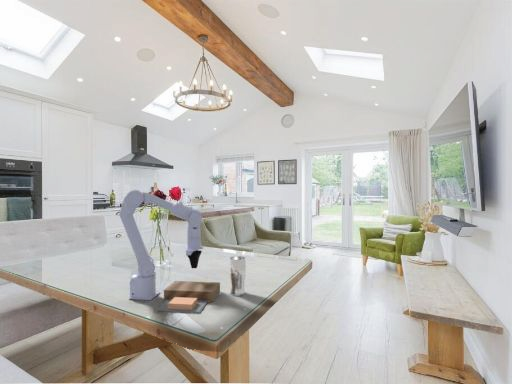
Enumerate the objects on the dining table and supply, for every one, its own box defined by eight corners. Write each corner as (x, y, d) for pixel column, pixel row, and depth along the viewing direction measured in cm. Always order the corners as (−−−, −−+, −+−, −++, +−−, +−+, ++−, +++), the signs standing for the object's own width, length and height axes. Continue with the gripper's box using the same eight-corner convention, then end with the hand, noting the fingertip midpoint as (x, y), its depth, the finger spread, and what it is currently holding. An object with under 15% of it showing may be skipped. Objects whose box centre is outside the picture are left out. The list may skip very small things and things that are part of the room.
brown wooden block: (163, 300, 110) (163, 290, 110) (175, 290, 121) (175, 280, 121) (212, 302, 108) (212, 291, 108) (219, 291, 119) (219, 282, 119)
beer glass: (246, 290, 120) (245, 255, 120) (246, 296, 113) (245, 259, 113) (230, 290, 120) (229, 256, 120) (229, 296, 113) (228, 260, 113)
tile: (174, 297, 107) (174, 302, 107) (167, 303, 101) (168, 308, 101) (197, 298, 106) (197, 303, 106) (191, 304, 100) (191, 310, 100)
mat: (156, 311, 100) (156, 309, 100) (168, 300, 110) (168, 299, 110) (199, 313, 98) (199, 311, 98) (207, 301, 108) (207, 300, 108)
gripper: (197, 240, 114) (197, 273, 114) (207, 234, 129) (207, 263, 129) (180, 239, 115) (181, 272, 115) (193, 234, 129) (193, 263, 130)
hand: (194, 267), depth 122 cm, fingers closed
